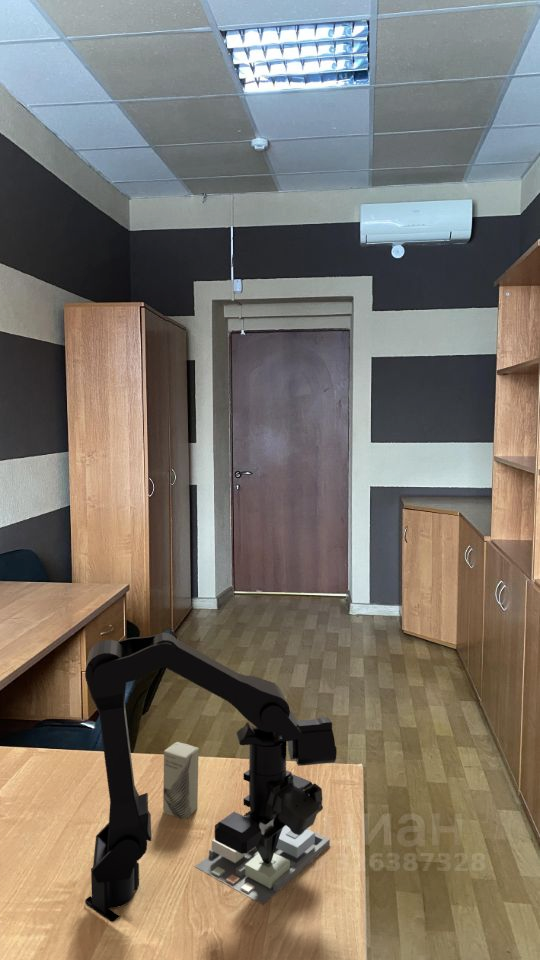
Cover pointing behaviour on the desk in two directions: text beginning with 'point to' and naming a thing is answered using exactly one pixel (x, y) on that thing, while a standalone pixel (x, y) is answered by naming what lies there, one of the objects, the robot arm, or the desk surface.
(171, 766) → the box
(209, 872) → the grey compartment tray
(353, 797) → the desk surface
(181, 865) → the desk surface
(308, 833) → the key slate
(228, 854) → the key ivory
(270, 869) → the key sage
